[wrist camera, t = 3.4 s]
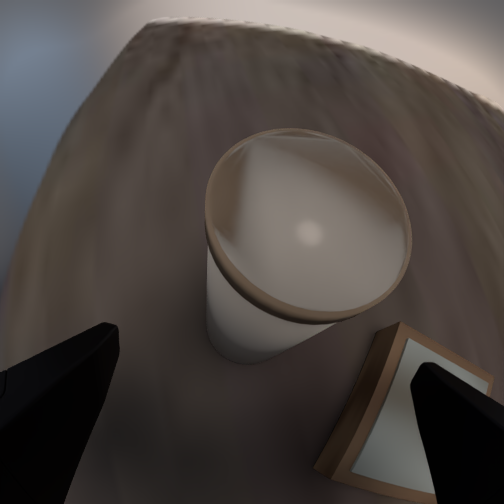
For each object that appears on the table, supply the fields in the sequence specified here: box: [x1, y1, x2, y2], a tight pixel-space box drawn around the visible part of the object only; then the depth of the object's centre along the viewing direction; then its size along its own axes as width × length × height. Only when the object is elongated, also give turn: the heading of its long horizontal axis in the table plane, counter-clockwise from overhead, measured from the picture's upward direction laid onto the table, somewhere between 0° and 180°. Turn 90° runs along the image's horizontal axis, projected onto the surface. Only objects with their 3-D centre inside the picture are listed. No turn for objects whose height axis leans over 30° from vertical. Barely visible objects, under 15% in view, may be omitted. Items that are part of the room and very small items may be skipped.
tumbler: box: [205, 128, 412, 365], centre depth 13 cm, size 5×5×13 cm
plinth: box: [313, 321, 494, 504], centre depth 16 cm, size 10×10×3 cm
